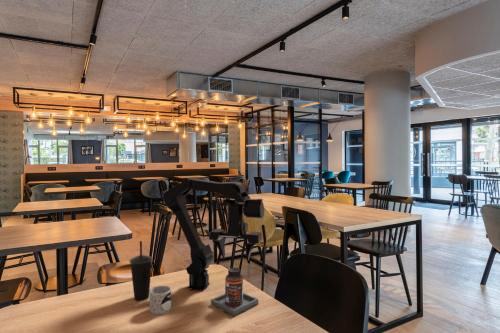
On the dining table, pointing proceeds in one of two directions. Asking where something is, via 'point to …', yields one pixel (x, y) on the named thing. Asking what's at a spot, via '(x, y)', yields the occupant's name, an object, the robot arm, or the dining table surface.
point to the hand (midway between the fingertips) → (235, 259)
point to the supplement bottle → (234, 287)
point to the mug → (160, 300)
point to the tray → (234, 310)
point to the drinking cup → (141, 275)
